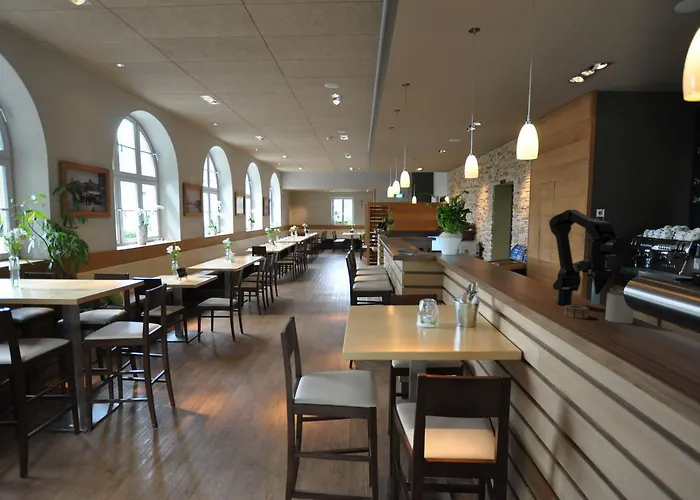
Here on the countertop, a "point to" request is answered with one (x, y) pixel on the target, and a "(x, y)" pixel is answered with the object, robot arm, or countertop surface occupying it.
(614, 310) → the cup
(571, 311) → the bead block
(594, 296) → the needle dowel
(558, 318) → the countertop surface
